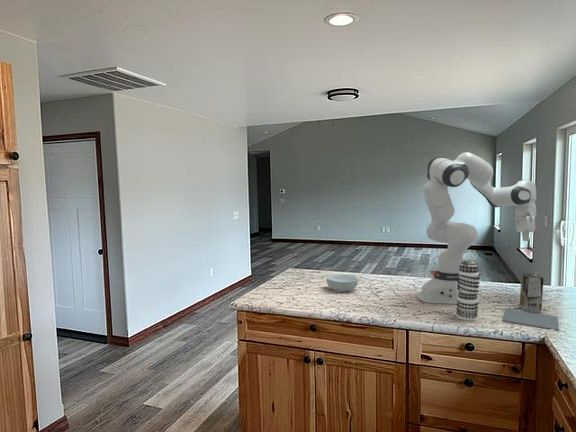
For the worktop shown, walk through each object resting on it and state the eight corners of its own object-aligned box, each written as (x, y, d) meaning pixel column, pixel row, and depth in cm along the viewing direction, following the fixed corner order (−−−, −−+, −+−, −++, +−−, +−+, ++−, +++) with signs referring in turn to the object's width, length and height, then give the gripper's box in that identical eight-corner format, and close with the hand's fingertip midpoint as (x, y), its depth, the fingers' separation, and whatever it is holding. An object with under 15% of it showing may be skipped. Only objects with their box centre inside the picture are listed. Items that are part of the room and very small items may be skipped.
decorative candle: (483, 320, 169) (485, 262, 167) (462, 321, 169) (464, 263, 166) (471, 313, 178) (473, 258, 176) (451, 313, 178) (453, 258, 175)
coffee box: (542, 313, 179) (544, 278, 177) (526, 312, 180) (528, 277, 179) (533, 306, 188) (535, 273, 186) (519, 306, 189) (520, 272, 188)
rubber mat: (558, 331, 157) (559, 329, 157) (501, 321, 168) (502, 320, 168) (557, 317, 173) (557, 316, 172) (505, 309, 183) (505, 308, 183)
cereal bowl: (322, 292, 212) (322, 279, 211) (331, 285, 227) (331, 272, 227) (354, 296, 206) (354, 282, 205) (360, 287, 221) (360, 275, 220)
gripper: (539, 212, 186) (538, 241, 186) (527, 214, 206) (527, 241, 205) (523, 211, 188) (523, 241, 188) (513, 214, 208) (513, 240, 207)
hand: (525, 241), depth 197 cm, fingers closed
